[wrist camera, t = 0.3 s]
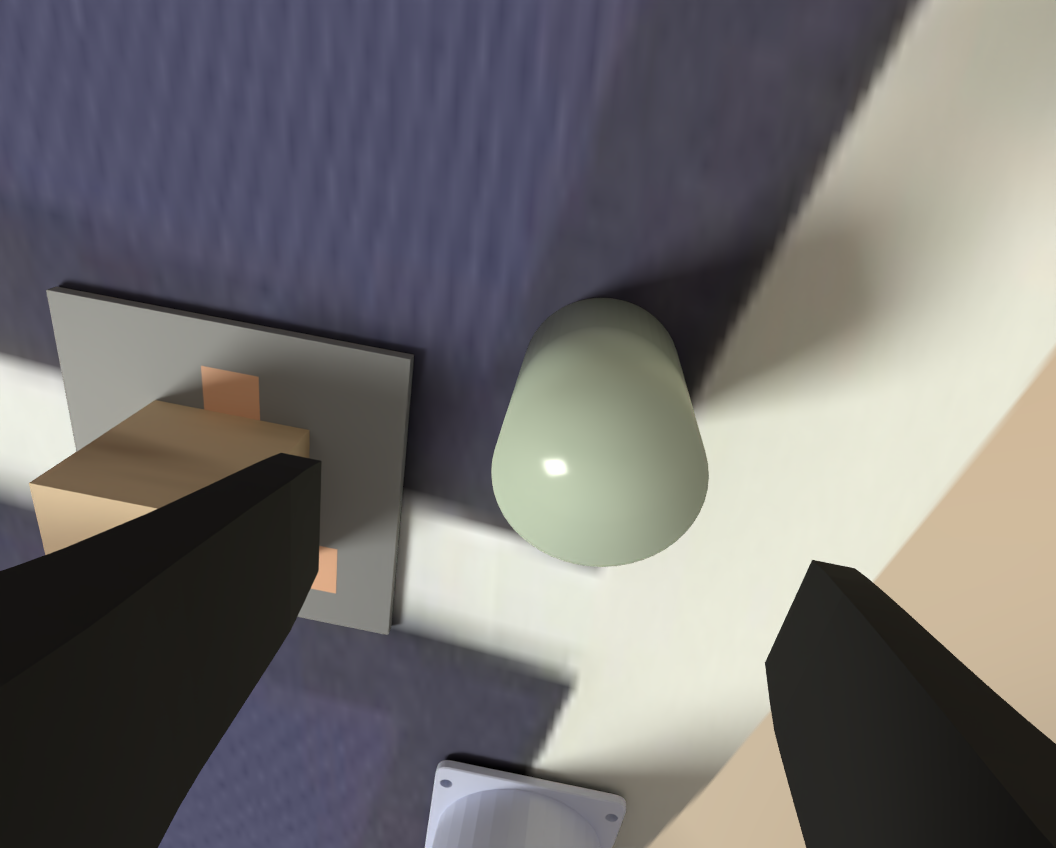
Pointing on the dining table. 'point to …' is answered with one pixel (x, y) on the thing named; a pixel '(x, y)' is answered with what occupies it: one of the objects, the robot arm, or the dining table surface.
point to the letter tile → (262, 419)
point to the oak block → (151, 467)
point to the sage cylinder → (600, 439)
